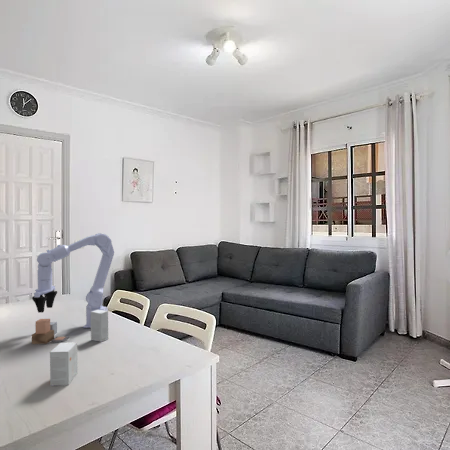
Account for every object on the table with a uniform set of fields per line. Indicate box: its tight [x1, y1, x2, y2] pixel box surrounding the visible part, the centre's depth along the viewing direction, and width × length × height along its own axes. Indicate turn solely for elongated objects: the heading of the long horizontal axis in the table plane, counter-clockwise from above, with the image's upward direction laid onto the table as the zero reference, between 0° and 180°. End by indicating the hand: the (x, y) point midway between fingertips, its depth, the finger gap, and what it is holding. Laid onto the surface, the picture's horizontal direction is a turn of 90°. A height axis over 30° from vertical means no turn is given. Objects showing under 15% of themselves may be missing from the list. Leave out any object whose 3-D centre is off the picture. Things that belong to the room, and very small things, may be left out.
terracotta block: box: [35, 318, 51, 334], centre depth 138 cm, size 4×4×5 cm
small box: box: [49, 341, 79, 387], centre depth 105 cm, size 8×6×10 cm
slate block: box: [50, 321, 58, 336], centre depth 146 cm, size 4×4×5 cm
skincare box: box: [90, 310, 109, 343], centre depth 140 cm, size 6×4×12 cm
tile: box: [50, 336, 70, 343], centre depth 140 cm, size 5×5×1 cm
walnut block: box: [31, 330, 55, 345], centre depth 138 cm, size 6×6×4 cm
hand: (45, 309), depth 148 cm, fingers open, 7 cm apart
